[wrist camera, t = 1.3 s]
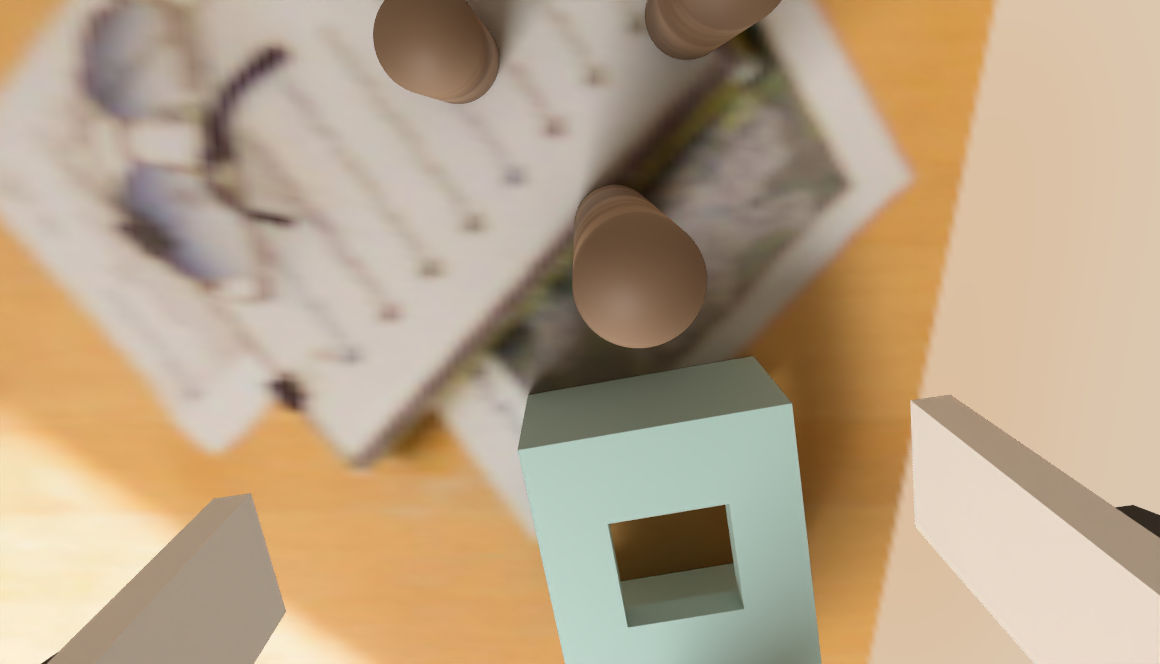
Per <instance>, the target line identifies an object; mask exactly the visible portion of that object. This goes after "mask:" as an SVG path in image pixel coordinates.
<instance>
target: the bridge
mask: <svg viewBox="0 0 1160 664" xmlns="http://www.w3.org/2000/svg"><path fill="white" fill-rule="evenodd" d="M518 454H519V458H520V463H521V467H522V472H523V476H524V481H525V485H526V490H527V494H528V499H529V503H530V508H531V512H532V517H533V521H534V526H535V530H536V535H537V539H538V544H539V548H540V553H541V557H542V562H543V566H544V571H545V575H546V580H547V584H548V589H549V593H550V598H551V602H552V607H553V611H554V616H555V620H556V625H557V629H558V634H559V638H560V643H561V647H562V652H563V656H564V661H565V664H822V663H821V654H820V646H819V637H818V628H817V619H816V610H815V602H814V593H813V584H812V575H811V566H810V557H809V549H808V540H807V531H806V522H805V513H804V505H803V496H802V487H801V478H800V469H799V460H798V452H797V443H796V434H795V425H794V416H793V407H792V403H791V401H790V400H789V399H788V398H787V397H786V395H785V394H784V393H783V392H782V390H781V389H780V388H779V387H778V385H777V384H776V383H775V382H774V381H773V379H772V378H771V377H770V376H769V374H768V373H767V372H766V371H765V370H764V368H763V367H762V366H761V365H760V363H759V362H758V361H757V360H756V358H755V357H754V356H750V357H744V358H738V359H732V360H727V361H721V362H715V363H709V364H704V365H698V366H692V367H687V368H681V369H675V370H669V371H664V372H658V373H652V374H646V375H641V376H635V377H629V378H624V379H618V380H612V381H606V382H601V383H595V384H589V385H583V386H578V387H572V388H566V389H561V390H555V391H549V392H543V393H538V394H532V395H528V399H527V404H526V409H525V414H524V420H523V425H522V430H521V436H520V441H519V446H518ZM720 505H725V507H726V514H727V521H728V528H729V535H730V542H731V548H732V555H733V562H734V563H731V564H725V565H719V566H713V567H707V568H700V569H694V570H688V571H682V572H676V573H670V574H663V575H657V576H651V577H645V578H639V579H633V580H627V581H620V576H619V570H618V565H617V560H616V555H615V550H614V544H613V539H612V534H611V529H610V524H612V523H618V522H624V521H630V520H636V519H642V518H648V517H654V516H660V515H666V514H672V513H678V512H684V511H690V510H696V509H702V508H708V507H714V506H720Z"/></svg>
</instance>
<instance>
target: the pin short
mask: <svg viewBox="0 0 1160 664" xmlns="http://www.w3.org/2000/svg"><path fill="white" fill-rule="evenodd" d="M373 39H374V47H375V51H376V54H377V57H378V59H379V62H380V64H381V66H382V67H383V69H384V70H385V72H386V73H387V74H388V76H389V77H390V78H391V79H392V80H393V81H395V82H396V83H397V84H398V85H400V86H401V87H403V88H405V89H407V90H409V91H411V92H414V93H418V94H421V95H424V96H428V97H431V98H435V99H438V100H441V101H445V102H448V103H453V104H463V103H468V102H472V101H474V100H476V99H478V98H480V97H481V96H482V95H484V94H485V93H486V92H487V91H488V90H489V89H490V87H491V86H492V84H493V82H494V81H495V78H496V76H497V72H498V67H499V54H498V49H497V45H496V43H495V40H494V38H493V36H492V35H491V33H490V32H489V30H488V29H487V28H486V27H485V25H484V24H483V23H482V21H481V20H480V19H479V18H478V16H477V15H476V14H475V13H474V11H473V10H472V9H471V8H470V6H469V5H468V4H467V3H466V1H465V0H385V1H384V2H383V4H382V5H381V7H380V9H379V11H378V13H377V16H376V19H375V23H374V31H373Z"/></svg>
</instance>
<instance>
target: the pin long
mask: <svg viewBox="0 0 1160 664" xmlns="http://www.w3.org/2000/svg"><path fill="white" fill-rule="evenodd" d="M706 290H707V271H706V266H705V262H704V259H703V257H702V254H701V252H700V250H699V248H698V247H697V245H696V244H695V242H694V241H693V240H692V238H691V237H690V236H689V235H688V234H687V233H686V232H685V231H683V230H682V229H681V228H680V227H679V226H678V225H676V224H675V223H674V222H673V221H672V220H671V219H669V218H668V217H667V216H666V215H665V214H664V213H662V212H661V211H660V210H659V209H658V208H656V207H655V206H654V205H653V204H652V203H651V202H649V201H648V200H647V199H646V198H645V197H644V196H642V195H641V194H640V193H639V192H637V191H636V190H634V189H632V188H630V187H627V186H624V185H606V186H602V187H600V188H597V189H596V190H594V191H592V192H591V193H590V194H588V195H587V196H586V197H585V198H584V200H583V201H582V202H581V204H580V206H579V207H578V210H577V212H576V216H575V222H574V251H573V295H574V299H575V303H576V306H577V308H578V311H579V313H580V314H581V316H582V318H583V320H584V321H585V322H586V324H587V325H588V326H589V327H590V328H591V329H592V330H593V331H594V332H595V333H596V334H598V335H599V336H600V337H602V338H604V339H605V340H607V341H609V342H611V343H614V344H616V345H619V346H623V347H629V348H648V347H653V346H658V345H661V344H663V343H666V342H668V341H670V340H672V339H674V338H675V337H677V336H678V335H680V334H681V333H682V332H683V331H684V330H686V329H687V328H688V327H689V326H690V324H691V323H692V322H693V321H694V319H695V318H696V316H697V315H698V313H699V311H700V309H701V307H702V305H703V302H704V299H705V295H706Z"/></svg>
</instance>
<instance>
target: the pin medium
mask: <svg viewBox="0 0 1160 664" xmlns="http://www.w3.org/2000/svg"><path fill="white" fill-rule="evenodd" d="M780 1H781V0H647V3H646V9H645V21H646V26H647V30H648V33H649V35H650V37H651V39H652V41H653V42H654V44H655V45H656V46H657V47H658V48H659V49H660V50H661V51H662V52H664V53H665V54H667V55H669V56H671V57H673V58H677V59H682V60H691V59H697V58H700V57H703V56H705V55H707V54H708V53H710V52H712V51H713V50H715V49H716V48H718V47H719V46H721V45H722V44H724V43H726V42H727V41H729V40H730V39H732V38H733V37H735V36H736V35H738V34H739V33H741V32H743V31H744V30H746V29H747V28H749V27H750V26H752V25H753V24H755V23H756V22H758V21H760V20H761V19H763V18H764V17H765V16H767V15H768V14H769V13H771V12H772V11H773V10H774V9H775V8H776V7H777V5H778V4H779V3H780Z"/></svg>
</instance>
